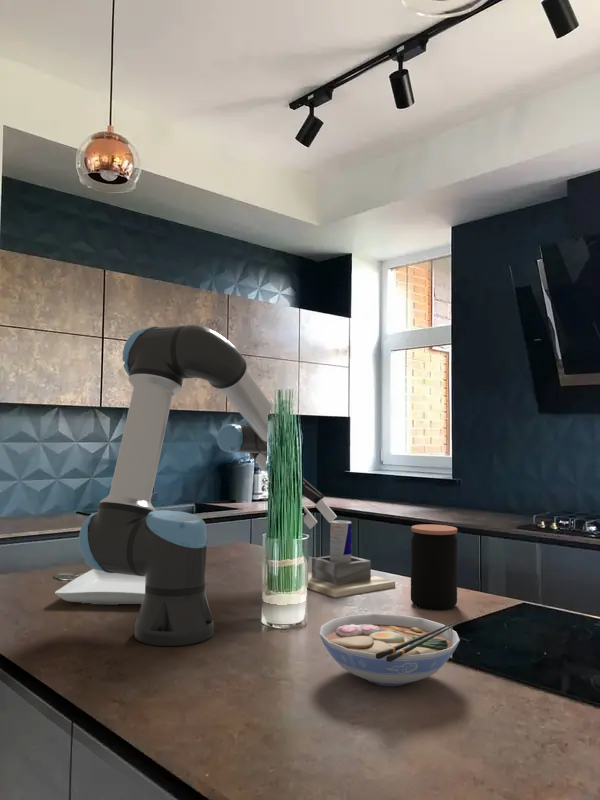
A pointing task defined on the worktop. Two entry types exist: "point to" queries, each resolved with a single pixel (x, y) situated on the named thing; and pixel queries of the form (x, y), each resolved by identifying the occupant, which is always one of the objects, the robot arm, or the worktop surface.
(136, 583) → the square plate
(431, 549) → the coffee jar
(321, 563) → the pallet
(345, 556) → the beverage can
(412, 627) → the ramen bowl
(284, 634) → the worktop surface
